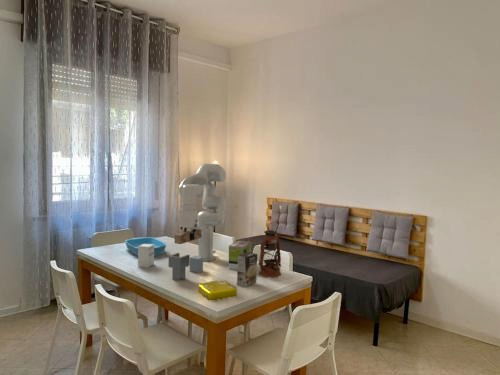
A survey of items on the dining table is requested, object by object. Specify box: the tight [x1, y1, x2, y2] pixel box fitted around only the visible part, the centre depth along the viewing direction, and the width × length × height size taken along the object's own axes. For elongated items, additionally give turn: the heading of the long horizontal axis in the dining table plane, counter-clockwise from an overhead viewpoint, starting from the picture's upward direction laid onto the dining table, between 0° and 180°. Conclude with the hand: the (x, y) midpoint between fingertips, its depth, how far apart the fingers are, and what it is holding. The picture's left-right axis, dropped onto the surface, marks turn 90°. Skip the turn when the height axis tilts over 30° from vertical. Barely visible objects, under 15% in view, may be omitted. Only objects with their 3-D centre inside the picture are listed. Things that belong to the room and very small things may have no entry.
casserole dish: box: [124, 236, 167, 257], centre depth 257 cm, size 37×22×7 cm, turn 35°
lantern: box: [257, 222, 282, 279], centre depth 213 cm, size 17×13×30 cm
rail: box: [174, 229, 202, 245], centre depth 208 cm, size 20×4×5 cm, turn 153°
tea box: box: [228, 240, 252, 271], centre depth 227 cm, size 15×10×15 cm
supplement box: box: [137, 244, 155, 268], centre depth 224 cm, size 7×7×13 cm
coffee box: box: [236, 252, 258, 288], centre depth 196 cm, size 9×6×16 cm
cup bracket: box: [168, 252, 191, 281], centre depth 201 cm, size 8×8×13 cm
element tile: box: [198, 279, 238, 301], centre depth 181 cm, size 15×15×5 cm
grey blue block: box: [189, 255, 204, 274], centre depth 216 cm, size 5×6×8 cm
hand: (188, 239), depth 208 cm, fingers closed on rail, 4 cm apart
